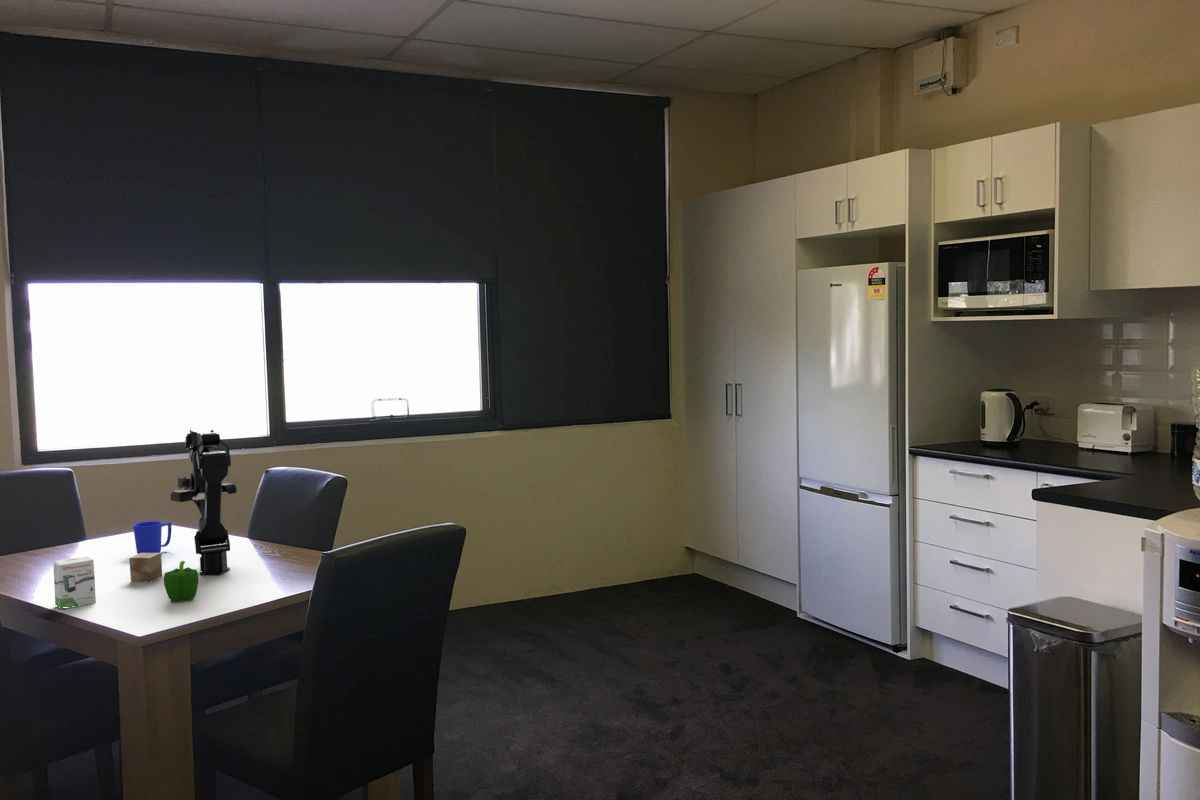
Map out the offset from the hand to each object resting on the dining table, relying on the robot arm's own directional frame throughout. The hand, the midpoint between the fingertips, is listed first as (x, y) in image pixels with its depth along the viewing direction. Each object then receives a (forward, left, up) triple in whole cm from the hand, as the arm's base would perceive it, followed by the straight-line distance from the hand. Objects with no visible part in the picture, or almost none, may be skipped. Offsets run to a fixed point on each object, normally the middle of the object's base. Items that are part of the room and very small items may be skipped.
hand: (205, 520), depth 294 cm
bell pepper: (-13, +40, -13) cm, 44 cm away
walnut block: (+8, +20, -13) cm, 25 cm away
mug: (+23, -11, -13) cm, 29 cm away
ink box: (+14, +45, -13) cm, 48 cm away
